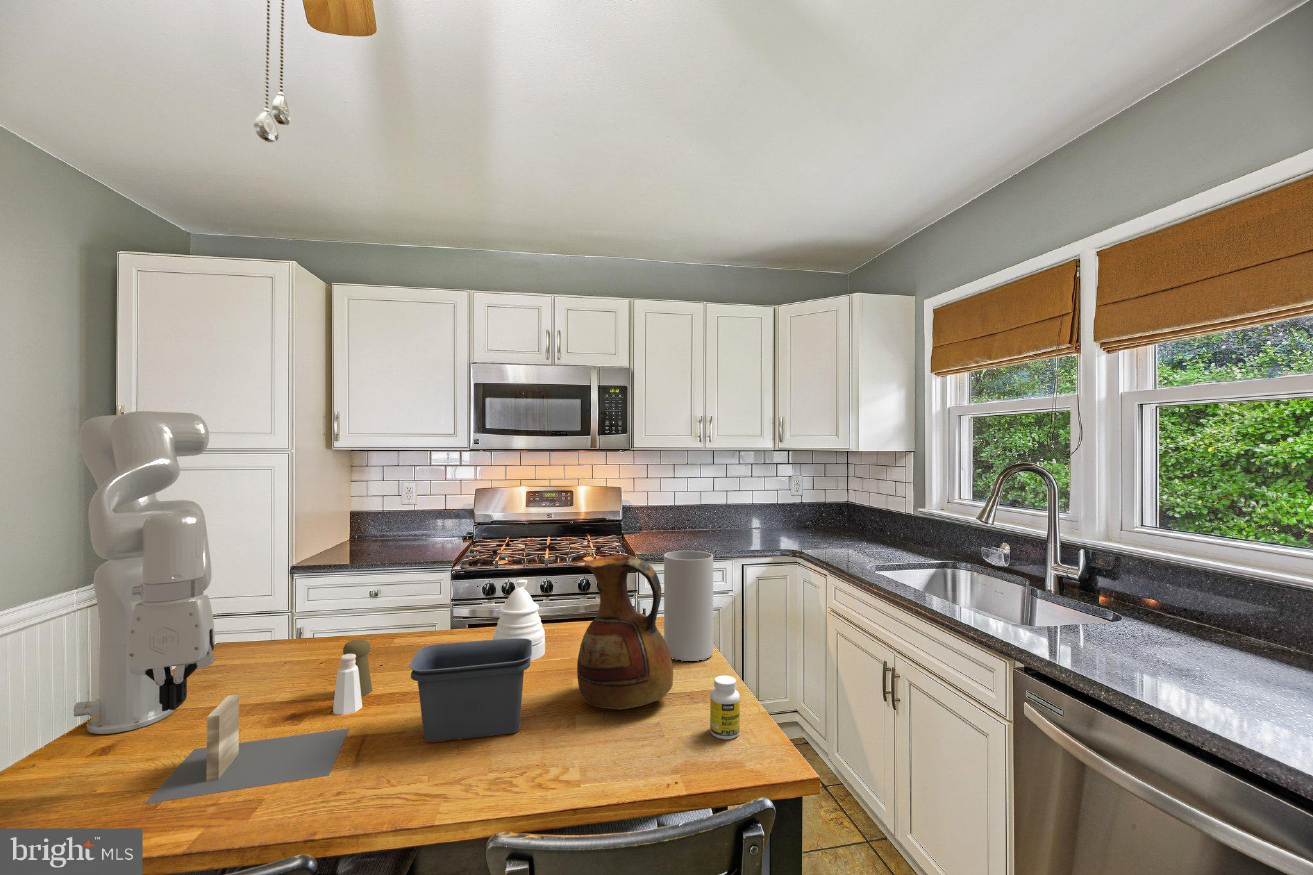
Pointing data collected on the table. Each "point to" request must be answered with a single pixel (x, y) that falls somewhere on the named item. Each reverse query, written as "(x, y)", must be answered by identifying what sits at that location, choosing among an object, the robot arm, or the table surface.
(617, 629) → the ceramic pitcher
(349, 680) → the salt shaker
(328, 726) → the table surface
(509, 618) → the honey pot
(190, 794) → the rubber mat
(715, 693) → the supplement bottle
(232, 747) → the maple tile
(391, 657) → the table surface
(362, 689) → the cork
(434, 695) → the storage bin
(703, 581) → the cylinder vase
